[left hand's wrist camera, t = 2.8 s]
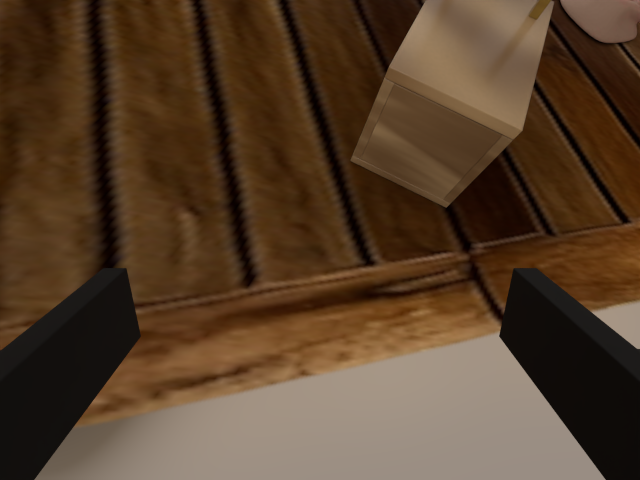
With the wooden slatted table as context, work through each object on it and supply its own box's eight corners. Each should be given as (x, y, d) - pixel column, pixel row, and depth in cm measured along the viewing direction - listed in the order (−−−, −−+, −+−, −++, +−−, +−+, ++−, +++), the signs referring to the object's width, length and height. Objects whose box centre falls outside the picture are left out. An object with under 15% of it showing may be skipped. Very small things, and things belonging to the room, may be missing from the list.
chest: (403, 60, 38) (444, -31, 30) (483, 98, 37) (544, 17, 30) (350, 161, 31) (384, 78, 23) (446, 208, 31) (512, 140, 23)
